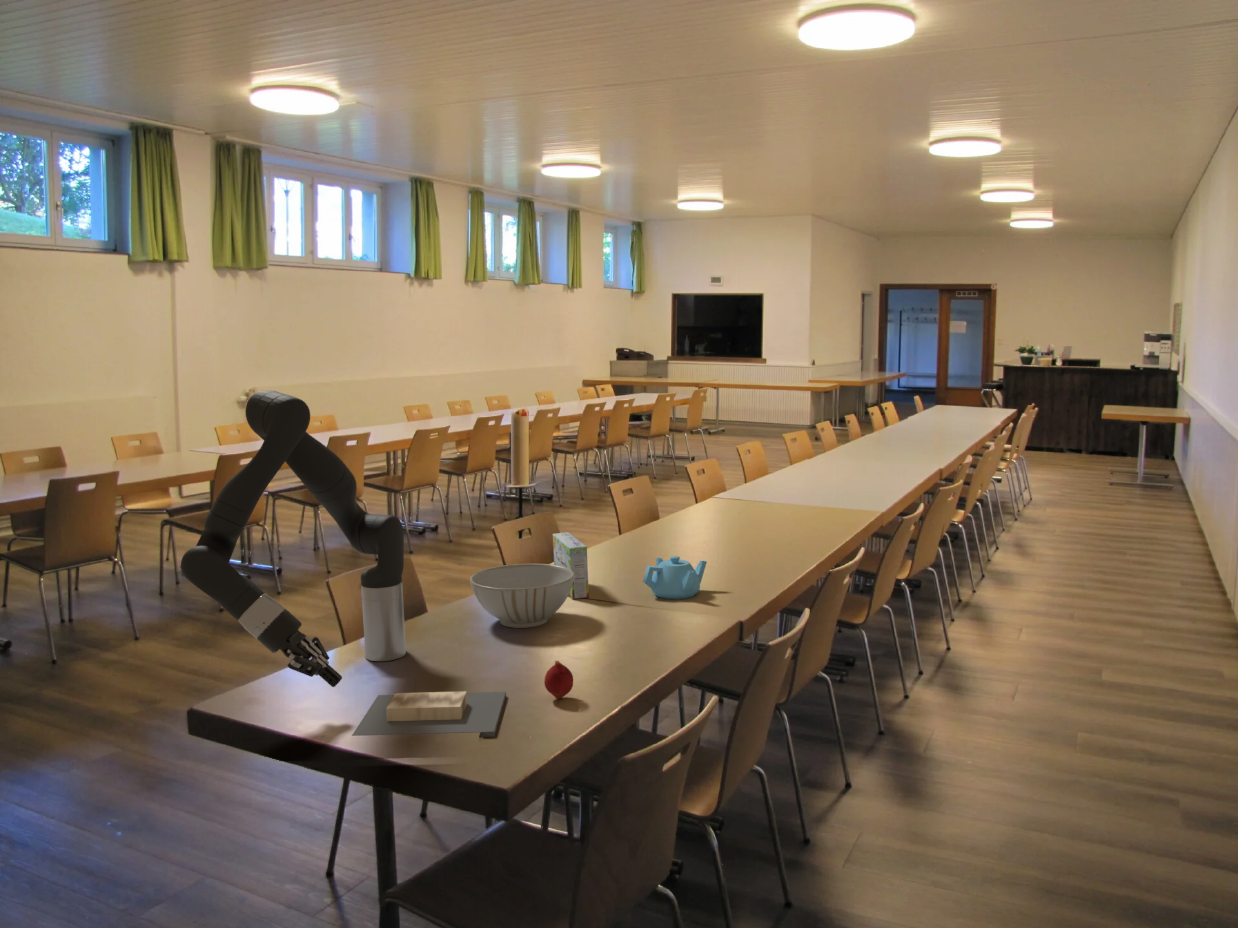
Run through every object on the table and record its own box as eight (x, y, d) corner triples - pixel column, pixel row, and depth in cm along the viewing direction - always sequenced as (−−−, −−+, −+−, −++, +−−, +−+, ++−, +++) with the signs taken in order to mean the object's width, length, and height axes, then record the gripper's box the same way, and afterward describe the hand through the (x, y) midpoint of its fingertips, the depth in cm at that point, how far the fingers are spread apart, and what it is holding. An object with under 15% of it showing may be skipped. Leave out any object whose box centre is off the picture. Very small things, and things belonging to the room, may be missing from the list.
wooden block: (395, 693, 188) (466, 691, 188) (396, 705, 189) (467, 703, 189) (386, 708, 180) (460, 706, 180) (386, 721, 181) (460, 719, 181)
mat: (378, 699, 195) (378, 694, 194) (506, 696, 195) (505, 691, 195) (352, 740, 175) (351, 735, 175) (494, 736, 175) (494, 731, 175)
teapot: (657, 585, 280) (657, 549, 279) (707, 588, 275) (707, 551, 274) (641, 598, 266) (640, 561, 265) (693, 602, 261) (693, 564, 259)
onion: (574, 692, 196) (572, 655, 195) (573, 703, 190) (572, 664, 189) (545, 693, 196) (544, 656, 195) (544, 704, 190) (543, 665, 189)
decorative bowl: (527, 643, 229) (525, 594, 227) (450, 625, 245) (447, 579, 243) (596, 616, 250) (595, 571, 248) (521, 601, 266) (519, 559, 264)
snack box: (553, 582, 286) (551, 533, 284) (571, 580, 288) (569, 531, 286) (571, 600, 266) (569, 547, 264) (590, 598, 268) (588, 545, 266)
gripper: (270, 618, 175) (341, 681, 177) (294, 599, 188) (360, 657, 190) (243, 647, 176) (315, 709, 178) (269, 626, 189) (335, 683, 191)
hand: (338, 682), depth 184 cm, fingers closed
